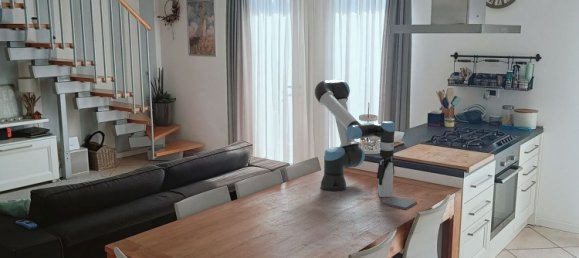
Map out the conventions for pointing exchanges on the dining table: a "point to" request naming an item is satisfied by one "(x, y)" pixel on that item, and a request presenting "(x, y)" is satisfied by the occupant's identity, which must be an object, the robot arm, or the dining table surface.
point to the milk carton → (387, 182)
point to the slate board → (399, 202)
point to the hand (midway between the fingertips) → (385, 188)
